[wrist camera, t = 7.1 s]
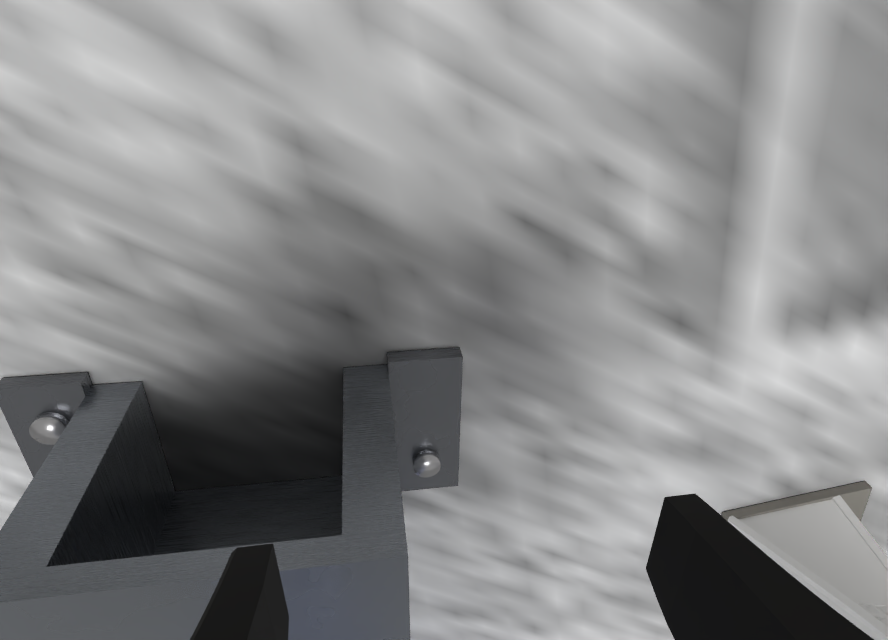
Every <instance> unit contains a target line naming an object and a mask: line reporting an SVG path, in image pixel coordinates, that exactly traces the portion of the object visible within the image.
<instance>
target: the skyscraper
mask: <svg viewBox="0 0 888 640" xmlns="http://www.w3.org/2000/svg"><path fill="white" fill-rule="evenodd" d="M871 490H872V487H871V486H870V485H869V484H868V483H867V482H866V481H862V482H858V483H853V484H849V485H844V486H840V487H835V488H830V489H826V490H821V491H817V492H812V493H808V494H803V495H799V496H794V497H789V498H785V499H780V500H776V501H771V502H767V503H762V504H757V505H753V506H748V507H744V508H739V509H735V510H730V511H726V512H722V517H723V518H724V519H726V520H727V521H728V522H729V523H730V524H731V525H733V526H734V527H735V528H736V529H737V530H738V531H740V532H741V533H742V534H743V535H744V536H745V537H747V538H748V539H749V540H750V541H751V542H752V543H754V544H755V545H756V546H757V547H758V548H760V549H761V550H762V551H763V552H764V553H765V554H767V555H768V556H769V557H770V558H771V559H773V560H774V561H775V562H776V563H777V564H779V565H780V566H781V567H782V568H783V569H785V570H786V571H787V572H788V573H789V574H791V575H792V576H793V577H794V578H795V579H797V580H798V581H799V582H800V583H802V584H803V585H804V586H805V587H807V588H808V589H809V590H810V591H812V592H813V593H814V594H815V595H816V596H818V597H819V598H820V599H822V600H823V601H824V602H825V603H827V604H828V605H829V606H830V607H832V608H833V609H834V610H836V611H837V612H838V613H839V614H841V615H842V616H843V617H845V618H846V619H847V620H849V621H850V622H851V623H853V624H854V625H855V626H857V627H858V628H859V629H861V630H862V631H863V632H865V633H866V634H867V635H869V636H870V637H871V638H873V639H874V640H888V557H887V555H886V554H885V553H884V551H883V550H882V549H881V547H880V546H879V545H878V544H877V542H876V541H875V540H874V538H873V537H872V536H871V534H870V533H869V532H868V531H867V529H866V528H865V527H864V525H863V524H862V523H861V519H862V516H863V513H864V510H865V507H866V504H867V502H868V499H869V496H870V493H871Z"/></svg>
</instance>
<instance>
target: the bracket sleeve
mask: <svg viewBox="0 0 888 640" xmlns="http://www.w3.org/2000/svg"><path fill="white" fill-rule="evenodd" d="M462 359H463V357H462V354H461V350H460V347H458V348H443V349H428V350H413V351H398V352H387V362H388V364H386V365H372V366H358V367H343V470H342V476H334V477H324V478H313V479H302V480H292V481H281V482H271V483H260V484H249V485H239V486H228V487H217V488H207V489H196V490H185V491H175V489H174V486H173V482H172V479H171V476H170V473H169V469H168V466H167V463H166V459H165V456H164V453H163V450H162V446H161V443H160V440H159V437H158V433H157V430H156V427H155V423H154V420H153V417H152V414H151V410H150V407H149V404H148V401H147V397H146V394H145V391H144V387H143V384H142V382H128V383H114V384H100V385H92V382H91V379H90V377H89V374H88V372H85V373H70V374H55V375H40V376H25V377H10V378H2V379H1V380H0V407H1V409H2V411H3V413H4V415H5V418H6V420H7V422H8V424H9V426H10V428H11V430H12V433H13V435H14V437H15V439H16V441H17V443H18V445H19V447H20V450H21V452H22V454H23V456H24V458H25V460H26V462H27V465H28V467H29V469H30V471H31V473H32V475H33V477H34V478H33V480H32V481H31V483H30V484H29V486H28V488H27V489H26V491H25V492H24V494H23V496H22V497H21V499H20V500H19V502H18V503H17V505H16V507H15V508H14V510H13V511H12V513H11V514H10V516H9V518H8V519H7V521H6V522H5V524H4V526H3V527H2V529H1V530H0V640H190V638H191V637H192V635H193V633H194V631H195V629H196V627H197V625H198V623H199V621H200V619H201V617H202V615H203V613H204V611H205V609H206V607H207V605H208V603H209V601H210V599H211V597H212V595H213V593H214V591H215V588H216V586H217V584H218V582H219V580H220V578H221V575H222V573H223V571H224V569H225V567H226V564H227V562H228V560H229V557H230V555H231V553H232V552H233V551H234V550H235V549H236V548H238V547H247V546H255V545H264V544H272V543H273V545H274V550H275V554H276V559H277V563H278V568H279V573H280V577H281V582H282V586H283V591H284V595H285V600H286V605H287V609H288V614H289V630H288V640H410V615H409V577H408V552H407V543H406V533H405V524H404V514H403V505H402V495H401V491H408V490H419V489H429V488H439V487H449V486H458V470H459V442H460V415H461V387H462Z"/></svg>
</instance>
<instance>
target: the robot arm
mask: <svg viewBox="0 0 888 640" xmlns="http://www.w3.org/2000/svg"><path fill="white" fill-rule="evenodd" d="M646 570H647V573H648V576H649V578H650V581H651V584H652V586H653V589H654V592H655V595H656V597H657V600H658V602H659V605H660V607H661V610H662V612H663V615H664V617H665V620H666V622H667V625H668V627H669V629H670V631H671V633H672V635H673V637H674V639H675V640H874V639H873V638H871V637H870V636H869V635H867V634H866V633H865V632H863V631H862V630H861V629H859V628H858V627H857V626H855V625H854V624H853V623H851V622H850V621H849V620H847V619H846V618H845V617H843V616H842V615H841V614H839V613H838V612H837V611H836V610H834V609H833V608H832V607H830V606H829V605H828V604H827V603H825V602H824V601H823V600H822V599H820V598H819V597H818V596H816V595H815V594H814V593H813V592H812V591H810V590H809V589H808V588H807V587H805V586H804V585H803V584H802V583H800V582H799V581H798V580H797V579H795V578H794V577H793V576H792V575H791V574H789V573H788V572H787V571H786V570H785V569H783V568H782V567H781V566H780V565H779V564H777V563H776V562H775V561H774V560H773V559H771V558H770V557H769V556H768V555H767V554H765V553H764V552H763V551H762V550H761V549H760V548H758V547H757V546H756V545H755V544H754V543H752V542H751V541H750V540H749V539H748V538H747V537H745V536H744V535H743V534H742V533H741V532H740V531H738V530H737V529H736V528H735V527H734V526H733V525H731V524H730V523H729V522H728V521H727V520H726V519H724V518H723V517H722V516H721V515H720V514H719V513H717V512H716V511H715V510H714V509H713V508H712V507H710V506H709V505H708V504H707V503H706V502H704V501H703V500H702V499H701V498H700V497H698V496H697V495H696V494H688V495H679V496H671V497H665V498H664V502H663V506H662V510H661V513H660V517H659V521H658V525H657V528H656V532H655V536H654V540H653V543H652V547H651V551H650V555H649V559H648V562H647V566H646ZM288 630H289V614H288V609H287V605H286V600H285V595H284V591H283V586H282V582H281V577H280V573H279V568H278V563H277V559H276V554H275V550H274V545H273V543H272V544H264V545H255V546H247V547H238V548H236V549H235V550H234V551H233V552H232V553H231V555H230V557H229V560H228V562H227V564H226V567H225V569H224V571H223V573H222V575H221V578H220V580H219V582H218V584H217V586H216V588H215V591H214V593H213V595H212V597H211V599H210V601H209V603H208V605H207V607H206V609H205V611H204V613H203V615H202V617H201V619H200V621H199V623H198V625H197V627H196V629H195V631H194V633H193V635H192V637H191V638H190V640H288Z"/></svg>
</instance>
